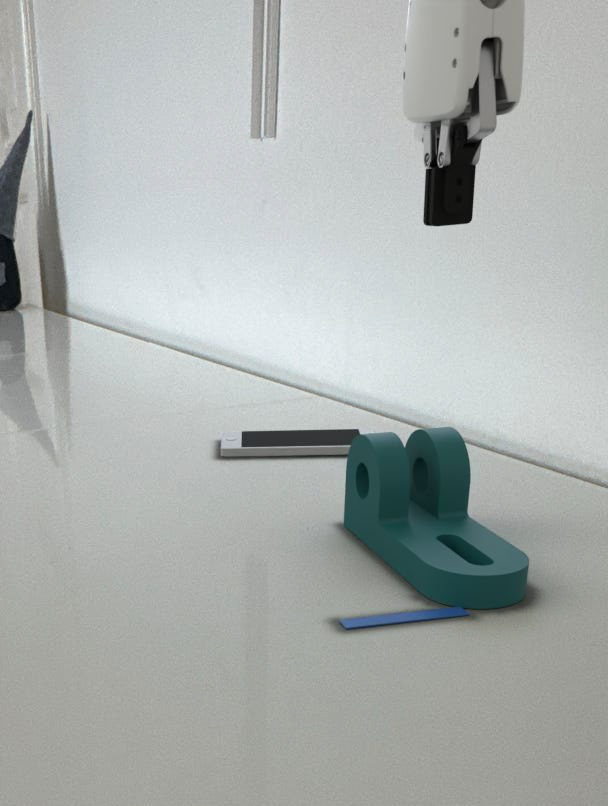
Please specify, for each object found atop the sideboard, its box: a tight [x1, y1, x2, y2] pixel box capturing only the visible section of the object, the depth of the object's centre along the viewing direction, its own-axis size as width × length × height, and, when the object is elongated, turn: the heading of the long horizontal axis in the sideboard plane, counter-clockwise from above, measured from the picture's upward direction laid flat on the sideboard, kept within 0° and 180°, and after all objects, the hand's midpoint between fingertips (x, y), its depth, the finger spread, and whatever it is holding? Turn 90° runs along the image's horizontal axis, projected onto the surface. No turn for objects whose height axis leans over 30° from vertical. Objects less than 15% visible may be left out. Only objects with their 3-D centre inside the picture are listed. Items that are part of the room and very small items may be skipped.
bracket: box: [343, 426, 530, 610], centre depth 69 cm, size 18×7×8 cm, turn 9°
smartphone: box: [220, 428, 376, 457], centre depth 100 cm, size 7×16×1 cm, turn 84°
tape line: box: [338, 606, 470, 630], centre depth 62 cm, size 8×1×1 cm, turn 99°
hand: (447, 224), depth 76 cm, fingers closed
